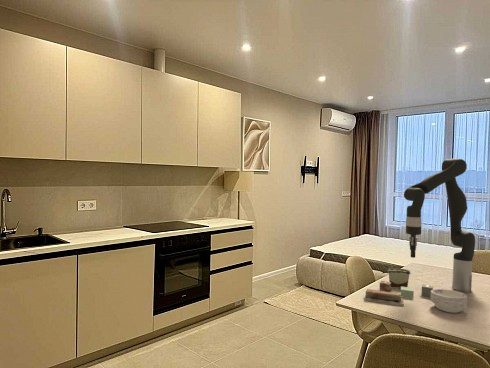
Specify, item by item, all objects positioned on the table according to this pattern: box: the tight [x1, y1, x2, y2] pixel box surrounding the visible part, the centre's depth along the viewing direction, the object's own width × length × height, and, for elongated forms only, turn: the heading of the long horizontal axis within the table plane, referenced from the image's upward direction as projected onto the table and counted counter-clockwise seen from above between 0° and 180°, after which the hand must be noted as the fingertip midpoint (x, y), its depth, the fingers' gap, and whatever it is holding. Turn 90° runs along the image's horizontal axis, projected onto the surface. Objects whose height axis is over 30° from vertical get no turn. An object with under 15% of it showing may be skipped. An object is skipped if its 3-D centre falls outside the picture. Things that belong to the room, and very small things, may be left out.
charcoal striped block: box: [421, 284, 434, 298], centre depth 190 cm, size 5×5×5 cm
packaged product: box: [364, 288, 405, 307], centre depth 179 cm, size 18×5×10 cm
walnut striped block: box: [378, 280, 392, 293], centre depth 194 cm, size 5×5×5 cm
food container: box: [387, 267, 411, 289], centre depth 205 cm, size 12×6×10 cm, turn 84°
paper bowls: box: [429, 288, 468, 314], centre depth 170 cm, size 15×15×8 cm
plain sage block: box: [400, 287, 415, 299], centre depth 188 cm, size 6×6×4 cm
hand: (412, 257), depth 192 cm, fingers closed
